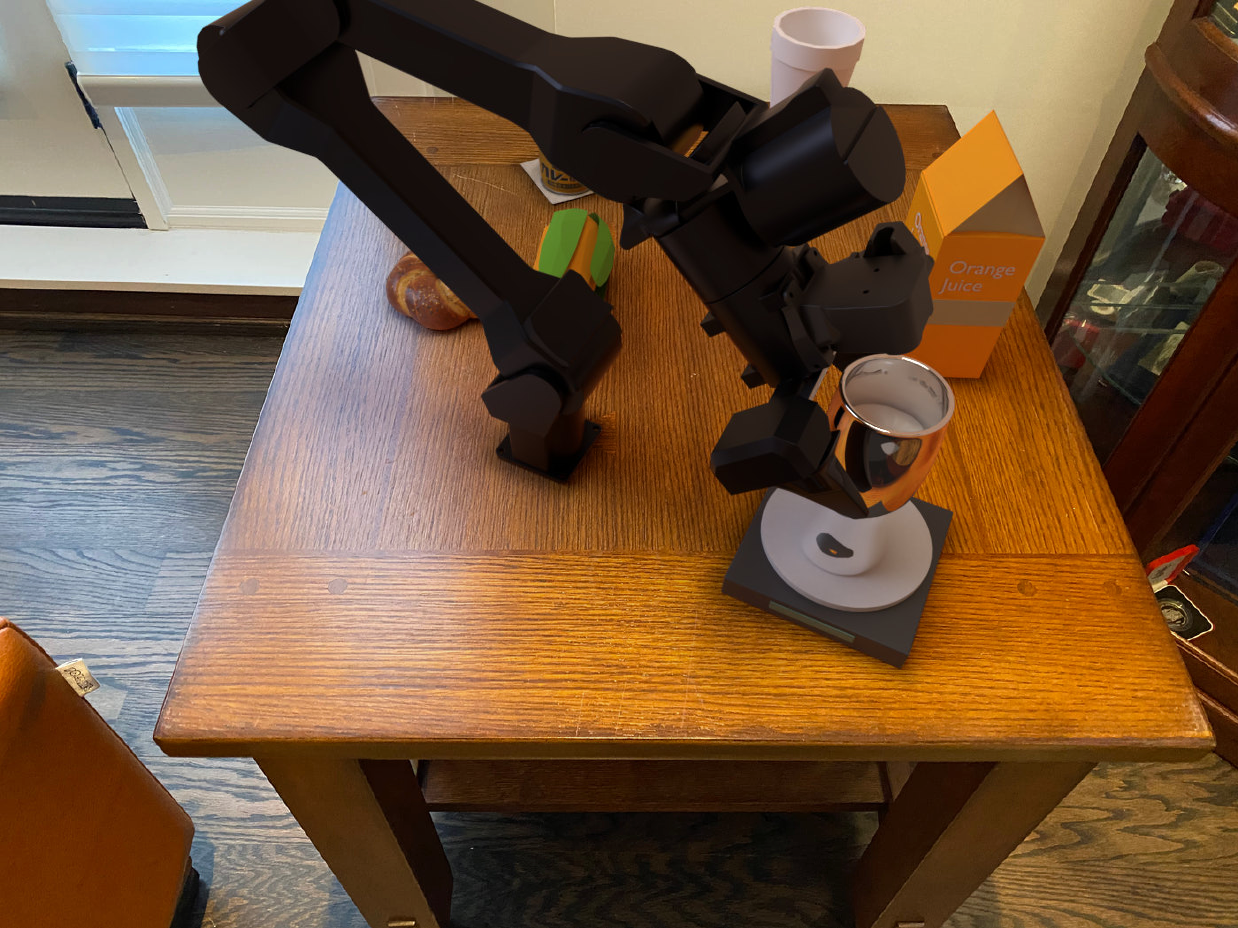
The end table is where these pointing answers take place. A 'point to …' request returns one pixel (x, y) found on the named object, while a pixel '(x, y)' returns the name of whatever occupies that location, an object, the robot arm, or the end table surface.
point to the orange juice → (973, 246)
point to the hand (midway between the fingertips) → (883, 463)
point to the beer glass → (878, 455)
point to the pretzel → (424, 295)
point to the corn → (577, 248)
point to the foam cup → (812, 47)
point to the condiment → (553, 181)
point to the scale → (841, 577)
